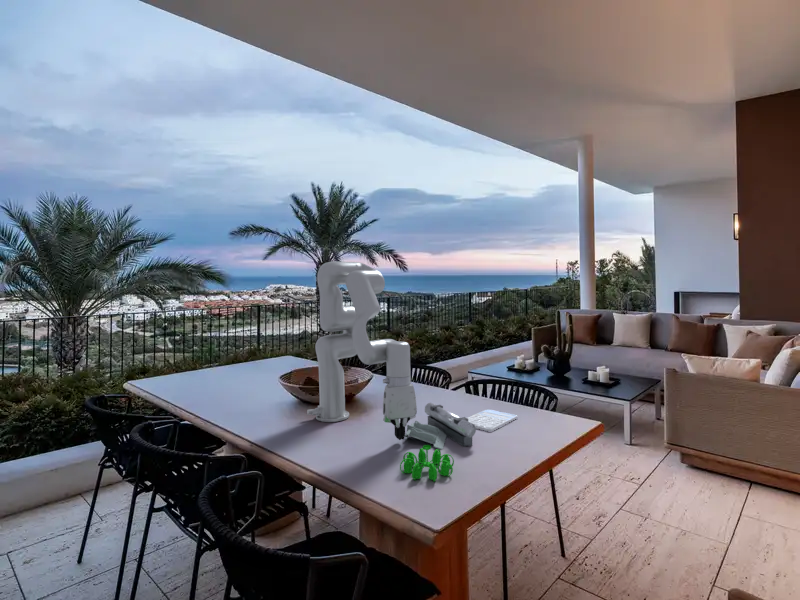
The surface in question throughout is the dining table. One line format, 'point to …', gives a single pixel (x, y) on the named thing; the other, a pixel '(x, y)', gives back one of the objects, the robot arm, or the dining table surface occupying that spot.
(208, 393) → the dining table surface
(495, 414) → the calculator
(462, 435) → the pipe mount
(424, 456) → the chandelier
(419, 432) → the metal bracket
